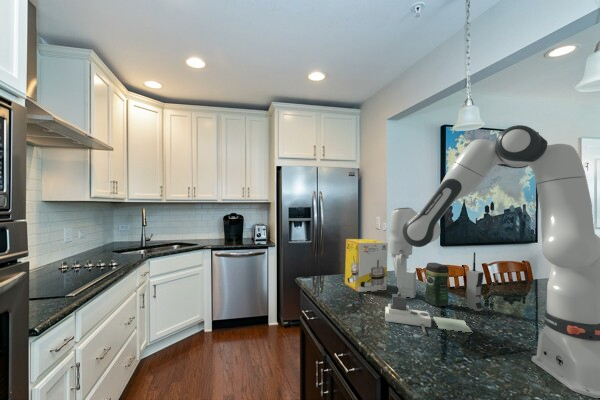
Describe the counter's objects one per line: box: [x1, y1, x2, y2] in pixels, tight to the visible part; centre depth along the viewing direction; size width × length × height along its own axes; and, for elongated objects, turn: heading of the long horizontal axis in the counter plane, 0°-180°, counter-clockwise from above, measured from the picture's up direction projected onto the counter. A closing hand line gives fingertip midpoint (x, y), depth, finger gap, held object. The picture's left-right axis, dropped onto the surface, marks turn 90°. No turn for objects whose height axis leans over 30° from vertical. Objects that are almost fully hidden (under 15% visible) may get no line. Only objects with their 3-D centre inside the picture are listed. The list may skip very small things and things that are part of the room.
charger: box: [391, 292, 407, 311], centre depth 113 cm, size 4×5×7 cm
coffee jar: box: [424, 262, 450, 307], centre depth 133 cm, size 10×8×19 cm
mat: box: [432, 316, 474, 334], centre depth 109 cm, size 11×11×1 cm
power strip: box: [384, 303, 432, 337], centre depth 108 cm, size 16×16×4 cm
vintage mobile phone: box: [466, 251, 484, 312], centre depth 127 cm, size 4×5×25 cm
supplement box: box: [397, 268, 417, 299], centre depth 144 cm, size 7×7×13 cm
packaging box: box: [344, 238, 389, 293], centre depth 157 cm, size 16×16×25 cm
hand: (398, 284), depth 113 cm, fingers open, 8 cm apart
